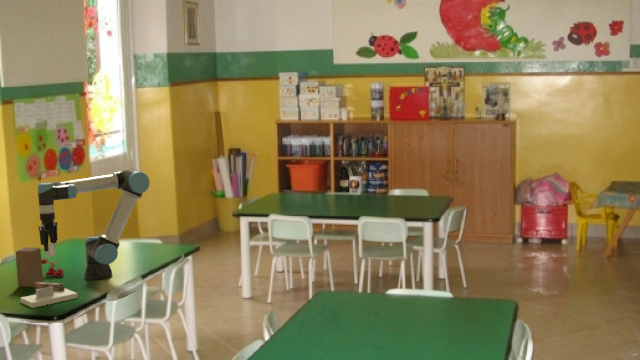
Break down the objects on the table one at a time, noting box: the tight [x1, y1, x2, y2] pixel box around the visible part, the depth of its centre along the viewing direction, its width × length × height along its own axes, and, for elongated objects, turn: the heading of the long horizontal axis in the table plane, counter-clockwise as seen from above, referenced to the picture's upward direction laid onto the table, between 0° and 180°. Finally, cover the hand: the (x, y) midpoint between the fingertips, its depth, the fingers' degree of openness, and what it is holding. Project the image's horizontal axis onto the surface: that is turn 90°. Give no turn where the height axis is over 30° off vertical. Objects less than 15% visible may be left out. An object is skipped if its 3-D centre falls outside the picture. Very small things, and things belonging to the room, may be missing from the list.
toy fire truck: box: [41, 258, 65, 278], centre depth 486 cm, size 3×14×10 cm, turn 71°
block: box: [15, 246, 44, 288], centre depth 467 cm, size 10×10×20 cm
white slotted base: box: [20, 287, 79, 309], centre depth 436 cm, size 24×14×6 cm, turn 131°
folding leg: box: [33, 281, 65, 291], centre depth 447 cm, size 17×3×3 cm, turn 71°
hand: (50, 256), depth 453 cm, fingers open, 4 cm apart
